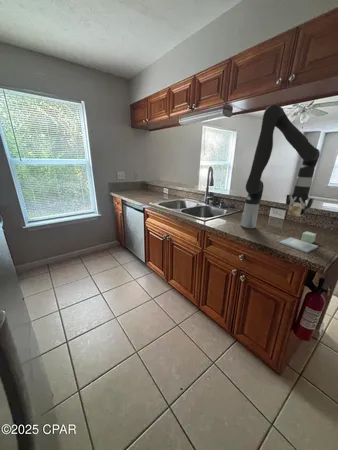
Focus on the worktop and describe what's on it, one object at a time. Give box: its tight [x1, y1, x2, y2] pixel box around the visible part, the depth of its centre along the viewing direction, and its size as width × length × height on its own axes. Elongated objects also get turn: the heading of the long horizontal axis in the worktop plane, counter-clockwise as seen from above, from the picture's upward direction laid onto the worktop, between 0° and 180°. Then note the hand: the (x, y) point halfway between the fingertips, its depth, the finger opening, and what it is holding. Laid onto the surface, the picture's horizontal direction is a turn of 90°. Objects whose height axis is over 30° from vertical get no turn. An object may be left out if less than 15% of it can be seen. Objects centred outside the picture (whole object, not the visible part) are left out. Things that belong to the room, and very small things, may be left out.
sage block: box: [300, 230, 317, 244], centre depth 109 cm, size 5×5×5 cm
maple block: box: [287, 204, 303, 218], centre depth 111 cm, size 6×6×5 cm
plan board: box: [279, 236, 319, 253], centre depth 104 cm, size 14×12×1 cm
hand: (295, 213), depth 111 cm, fingers closed on maple block, 6 cm apart
